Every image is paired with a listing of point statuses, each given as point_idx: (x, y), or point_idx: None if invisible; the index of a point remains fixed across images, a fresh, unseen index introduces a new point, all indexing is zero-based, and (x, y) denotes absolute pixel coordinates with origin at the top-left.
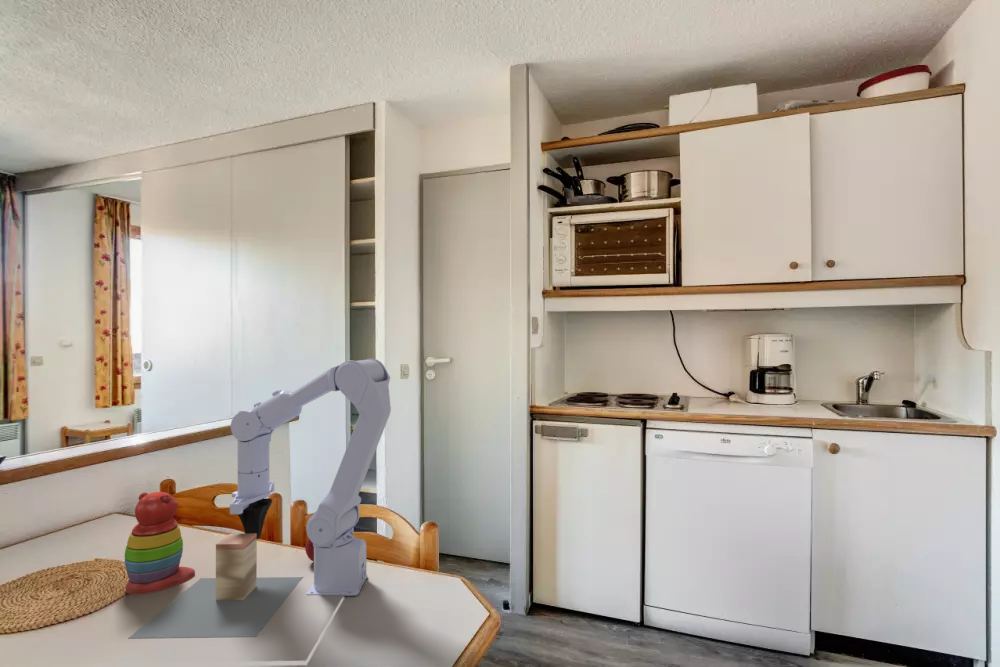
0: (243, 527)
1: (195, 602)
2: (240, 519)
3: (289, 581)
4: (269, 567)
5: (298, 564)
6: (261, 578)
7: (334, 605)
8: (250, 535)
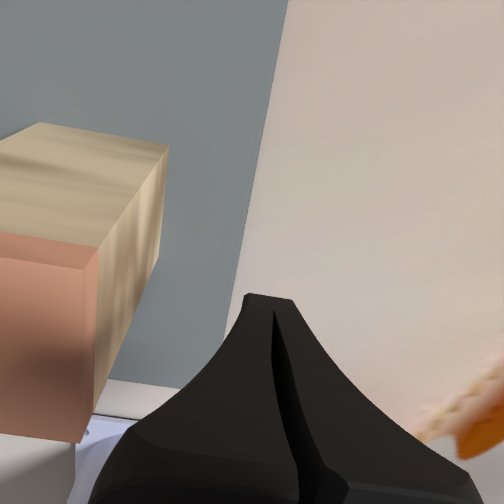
0: (231, 334)
1: (14, 27)
2: (194, 378)
3: (182, 359)
4: (366, 254)
5: (358, 354)
6: (229, 259)
7: (30, 476)
8: (37, 418)
